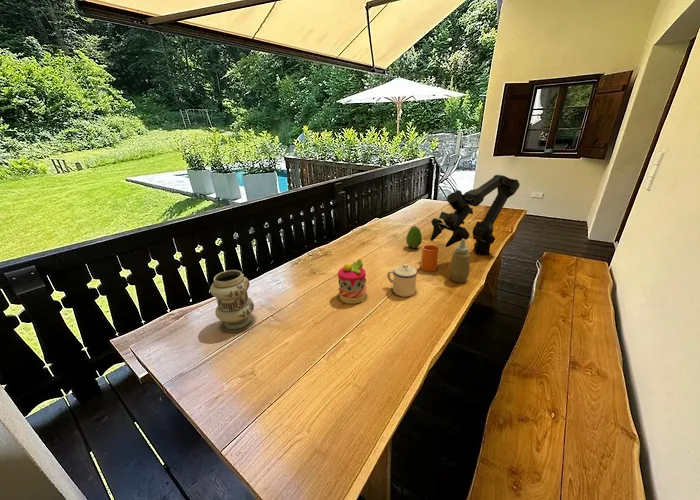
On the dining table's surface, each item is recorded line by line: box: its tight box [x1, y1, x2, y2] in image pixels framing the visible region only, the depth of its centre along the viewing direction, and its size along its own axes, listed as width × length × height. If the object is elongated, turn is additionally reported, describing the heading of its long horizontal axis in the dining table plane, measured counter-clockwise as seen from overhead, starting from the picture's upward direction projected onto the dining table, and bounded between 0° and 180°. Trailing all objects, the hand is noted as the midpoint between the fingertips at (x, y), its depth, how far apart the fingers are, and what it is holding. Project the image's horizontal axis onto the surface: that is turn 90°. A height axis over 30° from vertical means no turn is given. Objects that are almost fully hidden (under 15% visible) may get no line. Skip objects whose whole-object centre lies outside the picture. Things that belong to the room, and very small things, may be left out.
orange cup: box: [420, 244, 440, 272], centre depth 134 cm, size 7×7×10 cm
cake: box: [337, 258, 367, 305], centre depth 112 cm, size 10×11×15 cm
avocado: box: [405, 225, 423, 249], centre depth 157 cm, size 8×8×12 cm
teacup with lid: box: [386, 263, 418, 297], centre depth 116 cm, size 12×9×12 cm
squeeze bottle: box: [448, 239, 471, 283], centre depth 122 cm, size 8×8×18 cm
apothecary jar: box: [209, 269, 255, 333], centre depth 97 cm, size 12×12×18 cm
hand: (438, 243), depth 134 cm, fingers open, 9 cm apart
